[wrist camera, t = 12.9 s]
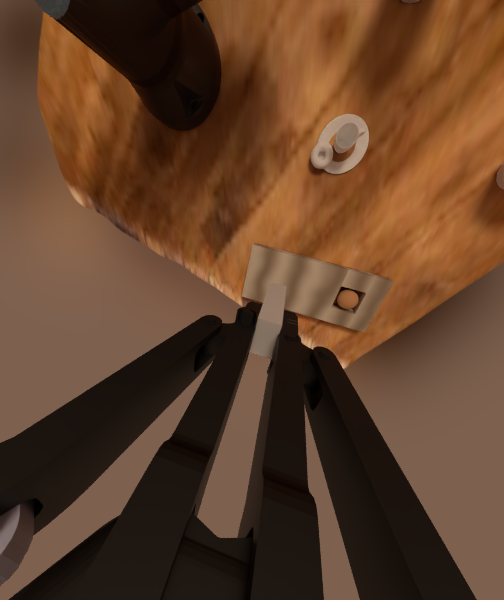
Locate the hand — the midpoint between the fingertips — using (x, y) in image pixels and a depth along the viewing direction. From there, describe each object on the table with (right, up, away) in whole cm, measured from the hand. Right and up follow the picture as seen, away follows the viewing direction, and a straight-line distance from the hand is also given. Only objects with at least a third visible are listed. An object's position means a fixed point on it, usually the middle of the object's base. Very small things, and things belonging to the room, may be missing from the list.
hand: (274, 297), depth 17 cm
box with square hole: (+11, +3, +24) cm, 26 cm away
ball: (+18, 0, +21) cm, 28 cm away
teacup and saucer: (+11, +28, +14) cm, 33 cm away
